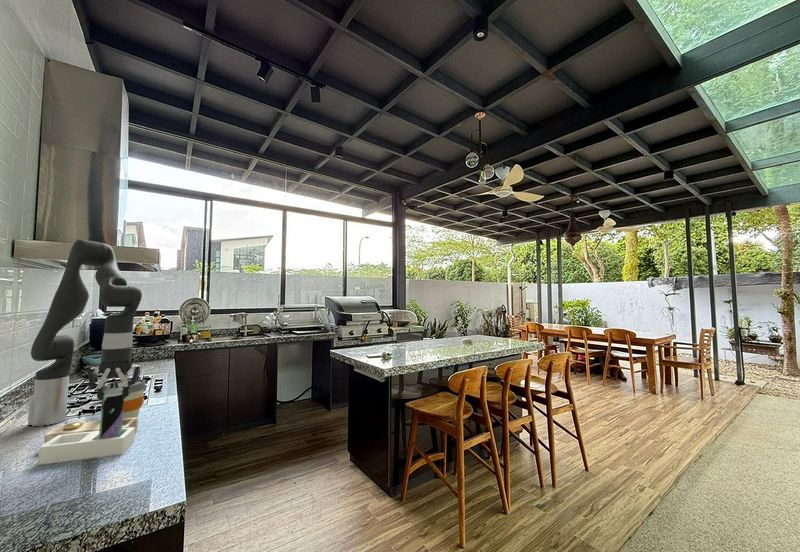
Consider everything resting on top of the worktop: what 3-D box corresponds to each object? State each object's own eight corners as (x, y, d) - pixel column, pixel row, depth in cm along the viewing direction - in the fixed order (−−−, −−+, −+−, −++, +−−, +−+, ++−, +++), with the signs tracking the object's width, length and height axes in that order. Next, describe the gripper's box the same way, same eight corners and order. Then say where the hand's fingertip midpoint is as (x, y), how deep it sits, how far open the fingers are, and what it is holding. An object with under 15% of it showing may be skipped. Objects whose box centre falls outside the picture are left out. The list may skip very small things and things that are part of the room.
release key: (59, 445, 106) (60, 427, 107) (67, 439, 110) (68, 422, 111) (76, 443, 108) (78, 426, 108) (83, 437, 112) (85, 421, 112)
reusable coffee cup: (106, 419, 130) (109, 381, 131) (145, 414, 136) (148, 377, 137) (96, 430, 119) (100, 388, 120) (139, 424, 125) (142, 384, 126)
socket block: (43, 451, 103) (44, 434, 103) (60, 439, 111) (61, 424, 112) (126, 441, 111) (128, 426, 111) (137, 431, 119) (138, 417, 120)
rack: (37, 464, 95) (39, 447, 95) (56, 451, 103) (58, 435, 103) (122, 454, 102) (124, 437, 102) (134, 442, 110) (135, 427, 111)
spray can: (106, 451, 101) (112, 385, 102) (93, 449, 102) (98, 384, 104) (125, 443, 106) (129, 381, 108) (111, 441, 108) (116, 380, 109)
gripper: (148, 343, 113) (144, 393, 112) (95, 345, 107) (91, 397, 106) (139, 347, 106) (135, 400, 105) (83, 348, 101) (78, 404, 99)
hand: (113, 398), depth 106 cm, fingers closed on spray can, 5 cm apart
